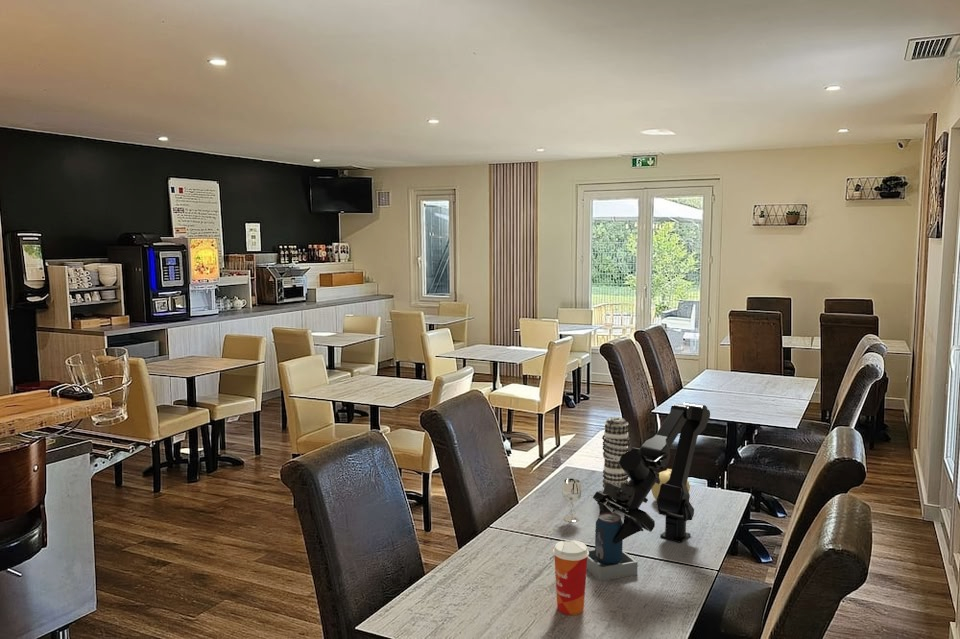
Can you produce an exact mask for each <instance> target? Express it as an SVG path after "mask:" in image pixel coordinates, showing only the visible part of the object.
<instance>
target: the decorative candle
mask: <svg viewBox="0 0 960 639" xmlns="http://www.w3.org/2000/svg"><path fill="white" fill-rule="evenodd" d="M603 423H604V431H603V435H602V438H601V439H602V440H603V441H602V450H603V452H602V457H603V459H604V463H603V464H604V465H603V470H602V473H603V475H602V477H603V479H602V487H603V488H602V492H603V491H604V488H605V485H606V482H609V483H612V484H615V485H617V486H621V485H622V484H623V483H626V484H628V482H629V480H628V479H629V477H628V475H627V474H626V473H625V471H624V470H623V469H622V468H621V466H620V458H621V456H623V454H625V453H626V452H628V451H630V449H629V447H628V446H630V445H631V443H630V442H629V441H630V440H631V438H630V437H629V432H628V429H629V428H628V425H630V424H629V422H628V421H627V420H626V419H625V418H624V417H620V416H610V417H608V418H607V419H606V421H604V422H603Z"/></svg>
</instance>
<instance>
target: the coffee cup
mask: <svg viewBox="0 0 960 639" xmlns="http://www.w3.org/2000/svg"><path fill="white" fill-rule="evenodd" d="M588 550H589V549H588V546H587V545H586V544H585V543H583V542H582V541H579V540H574V539H573V540H565V541H564V540H560V541H558V542H556V544H555V545H554V548H553V550H552V554H553V555H554V556H553V558H554V570H555V571H554V572H555V573H554V574H555V588H556V589H555V592H556V604H557V605H556V606H557V611H559V612H560V613H561V614H563V615H566V616H567V615H568V616H576V615H580V614H582V613H583V611H584V608H585V606H584V605H585V597H586V596H585V595H586V582H587V581H586V579H587V569H586V568H587V556H588V555H589V551H588Z"/></svg>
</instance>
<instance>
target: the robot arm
mask: <svg viewBox="0 0 960 639" xmlns="http://www.w3.org/2000/svg"><path fill="white" fill-rule="evenodd" d="M710 411H711V410H710V409H708V406H706V405H705V404H699V403H691V402H683V404H680V403H675V404H674V403H673V404H672V405H671V407H670V411H669V413H668V415H667V417H665V420H664V421H663V422H662V424H661V426H659V429H658V430H657V432H656V434H655V435H654V436H653V437H651V438H648V439H646V440H645V441H644V443H643V444H642V445H641V446H640V447H639V448H638V447H631V450H629V451H628V452H626V453H625V454H623V456H621V458H620V466H621V468H622V469H623V470H624V471H625V473H626V474H627V476H628V479H629V480H628V484H626V483H623V484H622V485H621V486H617V485H615V484H612V483H609V482H606V485H605V488H604V491H603V490H598V491H597V490H596V492H595V494H594V495H593V496H592V498H593V500H594V501H595V502H597V505H598V508H599V512H598V515H599V514H601V513H614V512H616V511H617V512H619V513H621V514H622V515H623V521H622V523H623V524H622V526H621V527H620V529H619V531H618V532H617V534H616V536H615V537H614V540H613V542H614V543H615V544H616V543H618V542H620V541H622V540H625V539H627V538H629V537H630V536H633V535H635V534H637V533H639V532H644V530H646V531H647V532H649V533H652V532H653V530H654V528H655V523H656V521H655V520H654V519H653V518H652V517H651V516H650V515H649V513H647V512H646V511H644V510H642V509H640V507H641V505H642V504H643V503H644V504H647V503H648V501H649V499H648V498H647V496H648V494H649V493H650V491H652V487H653V486H654V484H655V483H657V484H660V479H659V473H660V472H657V471H654V469H656V470H665V468H666V467H667V466H668V464H669V461H670V458H671V452H670V449H671V447H672V445H673V443H675V440H676V439H677V437H678V435H679V438H678V441H677V446H676V450H675V453H674V458H673V463H672V466H671V469H672V470H671V475H670V479H669V480H668V481H667V482H666V483H665V484H664V483H662V485H661V486H660V492H659V494H658V497H657V501H656V507H657V510H658V511H657V512H658V515H663V516H665V518H664V519H665V522H664V523H665V524H664V526H665V527H664V531H663V532H662V533H660V534H659V536H660V538H664V539H667V540H671V541H674V542H678V543H682V542H684V541H686V540H687V539H688V538H689V537H691V533H689V532H687V531H686V530H687V522H688V521H692V520H693V517H694V514H695V509H694V507H693V506H692V503H691V502H690V499H691V498H690V496H691V495H690V491H688V488H687V485H686V484H687V480H688V479H689V475H690V470H691V467H692V461H693V459H694V458H693V457H694V454H695V449H696V444H697V441H698V437H699V435H701V433H703V431H705V429H706V427H707V425H708V422H709V421H710V419H711V412H710ZM688 481H689V480H688ZM595 533H596V529H595Z"/></svg>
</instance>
